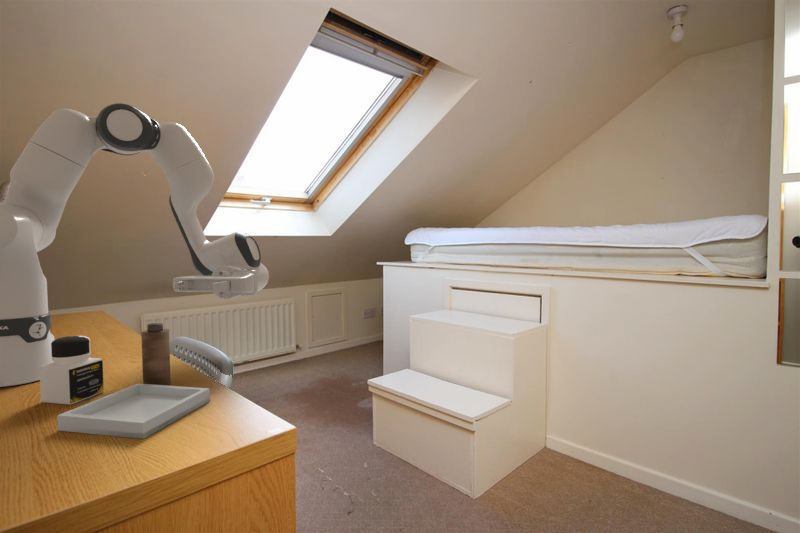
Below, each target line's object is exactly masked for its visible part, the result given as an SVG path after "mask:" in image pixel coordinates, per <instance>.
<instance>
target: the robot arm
mask: <svg viewBox="0 0 800 533" xmlns="http://www.w3.org/2000/svg"><path fill="white" fill-rule="evenodd" d="M99 151H105V152H109V153H112V154H113V153H114V154H115V155H116V154H117V155H120V156H121V155H122V156H134V155H138V154H139V153H145V154H148V155H149V156H150V157H152V158H153V159H154V160H155V162H156V163H157V164H158V165H159V167H160V168H161V170H162V172H163V174H164V175H165V177H166V179H167V182H168V185H169V188H170V195H169V197H168V198H169V199H168V201H169V206H170V209H171V213H172V214H173V216H174V218H175V221H176V224H177V226H178V228H179V230H180V233H181V235H182V237H183V239H184V242H185V244H186V246H187V248H188V251H189V254H190V257H191V258H190V259H191V262H192V266H193V267H194V269H195V270H196V271H197V273H199V274H200V275H186V276H185V275H184V276H177V277H173V279H172V280H173V281H172V288H173V291H174V292H179V293H181V292H183V293H213V294H215V295H216V296H217V297H218V298H221V299H224V300H225V299H227V300H229V299H233V298H238V297H239V298H240V297H241V296H253V295H257V294H258V293H259V291H262V290H263V289H264V288H265V287H266V286H267V285H268V283H269V280H270V273H269V272H270V271H269V270H268V269H267V267H266V266H265V265H264V264H263V263H262V262H261V260H262V257H261V250H260V247H259V244H258V243H257V241H256V240H255V238H254V237H252V236H251V235H250V234H248V233H246V232H244V231H240V230H237V231H236V232H233V233H230V234H227V235H225V236H223V237H220V238H217V239H216V240H212V241H209V240H208V239H207V237H206V236H205V233H204V230H203V228H202V225H201V223H200V221H199V219H198V215H197V209H198V207H199V205H200V203H202V201H203V200H204V198H206V196H208V195H209V193H210V191H211V190H212V188H213V185H214V182H215V174H214V171H213V168H212V166H211V164H210V162H209V161H208V159H207V158H206V156H205V153H204V152H203V150H202V149H201V148H200V146H199V144H198V143H197V142H196V140H195V139H194V137H193V136H192V135H191V133H190V132H189V131H188V130H187V129H186V127H184V126H183V125H182V124H181V123H177V122H175V121H174V122H173V121H168V122H162V123H160V124H159V122H158V121H156V120H155V119H154V118H152V117H150V116H149V115H147V114H146V113H144V112H143V111H141V110H140V109H138V108H137V107H135V106H133V105H130V104H128V103H121V102H120V103H112V104H109V105H106V106H105V107H103V108H102V109H101V110H100V111H99V113H98V115H97V116H96V115H95V116H89V115H86V114H84V113H83V112H80V111H78V110H75V109H71V108H59V109H56V110H55V111H53V112H52V113H51V114H50V115H49V116H47V118H46V119H45V120H44V121H43V122H42V123H41V124H40V126H39V127H38V128H37V129H36V131H35V132H34V133H33V135H32V137H30V138H29V140H28V142H27V143H26V145H25V147H24V149H23V150H22V152H21V153H20V155H19V157H18V158H17V160H16V161H15V163H14V165H13V166H12V168H11V169H10V172H9V178H10V179H9V184H8V185H9V186H8V189H7V192H6V195H5V199H4V201H3V202H0V388H3V387H10V386H17V385H23V384H29V383H32V382H36V381H37V382H38V381H40V366H42V365H45V364H49V363H53V362H54V361H52V351H51V343H52V342H53V341H54V340H56V339H55V336H54V334H52V333H51V330H50V329H52V322H53V320H52V319H53V318H52V314H51V313H50V312H49V300H48V299H49V297H48V280H47V277H46V276H45V274H44V273H43V269H42V267H41V262H40V260H39V256H38V253H39V252H41V251H42V250H45V249H46V248H48V247H49V246H50V245H51V244H52V243H53V242H54V240H55V238H56V235H57V228H58V226H59V224H60V221H61V219H62V216H63V213H64V210H65V207H66V205H67V202H68V200H69V197H70V196H71V194H72V192H73V190H75V187H76V185H77V184H78V182H79V181H80V179H81V177H82V175H83V174H84V171H85V170H86V168H87V167H88V165H89V164H90V162H91V160H92V159H93V157H94V155H96V153H98V152H99Z"/></svg>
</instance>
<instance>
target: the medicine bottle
mask: <svg viewBox="0 0 800 533" xmlns="http://www.w3.org/2000/svg"><path fill="white" fill-rule="evenodd" d="M91 349H92V348H91V338H90V337H88V336H86V335H69V336H62V337H58V338H56V339H55V340H54V341H53V342H52V343H51V351H52V361H54V362H53V363H49V364H45V365H42V366H40V380H39V384H40V386H39V387H40V389H39V390H40V402H41V403H46V404H56V405H68V406H70V405H71V406H72V405H74V404H77V403H79V402H82V401H85V400H88V399H91V398H93V397H95V396H98V395H101V394H103V393H104V390H105V389H104V388H105V387H104V368H103V367H104V365H103V364H104V363H103V358H101V357H100V358H99V357H91V354H92V350H91Z"/></svg>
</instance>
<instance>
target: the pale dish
mask: <svg viewBox="0 0 800 533" xmlns="http://www.w3.org/2000/svg"><path fill="white" fill-rule="evenodd" d="M210 392H211V390H210V388H208V387H207V388H206V387H196V386H195V387H193V386H191V387H190V386H181V385H180V386H176V385H171V386H166V385H152V384H143V383H136V384H133V385H130V386H128V387H125V388H122V389H121V390H117V391H115V392H113V393H111V394H107V395H106V396H103V397H100V398H98V399H95V400H92V401H91V402H90V401H89V402H88V403H85V404H83V405H80V406H78V407H76V408H72V409H70V410H67V411H65V412H63V413H60V414H58V415H57V431H58V432H69V433H79V434H80V433H81V434H89V435H99V436H109V437H121V438H132V439H141V440H142V439H143V440H144V439H146V438H147V437H150V436H151V435H153V434H155V433H157V432H158V431H160V430H162V429H164V428H166V427H168V426H169V425H171V424H172V423H174V422H176V421H178V420H179V419H181V418H183V417H185V416H186V415H188V414H191V413H192V412H194V411H195V410H197V409H199V408H202V406H204V405H206V404H207V403H209V402H211V397H210V394H211V393H210Z"/></svg>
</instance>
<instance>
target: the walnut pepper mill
mask: <svg viewBox="0 0 800 533" xmlns="http://www.w3.org/2000/svg"><path fill="white" fill-rule="evenodd" d="M146 326H147V330H143V331H141V333H140V334H141V359H142V360H141V364H142V366H141V367H142V384H152V385H166V386H172V383H171V350H170V329H168V328H164V323H163V322H154V323H153V322H151V323H148V324H146Z"/></svg>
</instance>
